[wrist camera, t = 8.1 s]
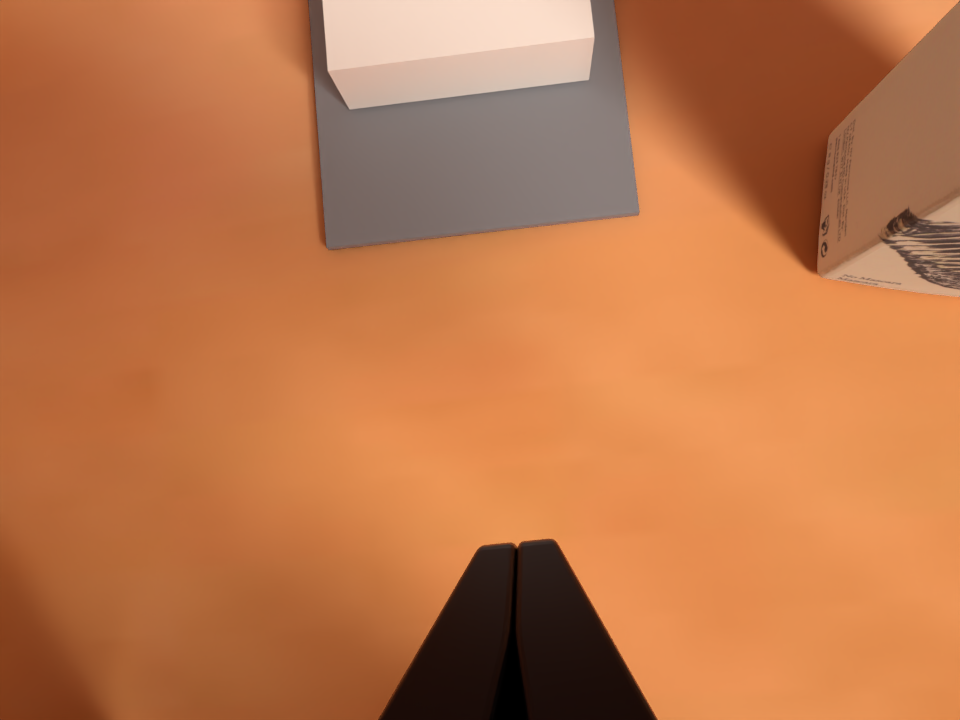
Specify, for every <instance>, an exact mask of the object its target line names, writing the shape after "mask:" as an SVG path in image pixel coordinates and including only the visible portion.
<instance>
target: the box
mask: <svg viewBox="0 0 960 720" xmlns="http://www.w3.org/2000/svg"><path fill="white" fill-rule="evenodd" d="M817 272H818V274H819V276H820V277H822V278H826V279H831V280H838V281H844V282H850V283H856V284H862V285H869V286H875V287H882V288H888V289H895V290H904V291H911V292H917V293H926V294H934V295H945V296H954V297H960V1H959V2H958V3H957V4H956V5H955V6H954V7H953V8H952V9H951V10H950V11H949V12H948V13H947V14H946V15H945V16H944V17H943V18H942V19H941V20H940V21H939V22H938V23H937V25H936V26H935V27H934V28H933V29H932V30H931V31H930V32H929V33H928V34H927V35H926V36H925V37H924V38H923V39H922V40H921V41H920V42H919V43H918V44H917V45H916V46H915V47H914V48H913V49H912V50H911V51H910V52H909V53H908V54H907V55H906V56H905V57H904V58H903V59H902V60H901V61H900V62H899V63H898V64H897V65H896V66H895V67H894V68H893V69H892V70H891V71H890V72H889V73H888V74H887V75H886V76H885V77H884V78H883V79H882V81H881V82H880V83H879V84H878V85H877V86H876V87H875V88H874V89H873V90H872V91H871V92H870V93H869V94H868V95H867V96H866V97H865V98H864V99H863V100H862V101H861V102H860V103H859V104H858V105H857V106H856V107H855V108H854V109H853V110H852V111H851V112H850V113H849V114H848V115H847V116H846V118H845V119H844V120H843V121H842V122H841V123H840V124H839V125H838V126H837V127H836V128H835V129H834V130H833V131H832V132H831V134H830V135H829V138H828V146H827V156H826V163H825V173H824V184H823V193H822V207H821V218H820V228H819V243H818V261H817Z"/></svg>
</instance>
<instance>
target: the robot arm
mask: <svg viewBox="0 0 960 720" xmlns="http://www.w3.org/2000/svg"><path fill="white" fill-rule="evenodd" d="M378 720H658V719H657V718H656V716H655V714H654V712H653V711H652V709H651V707H650V705H649V704H648V702H647V700H646V698H645V697H644V695H643V693H642V691H641V689H640V688H639V686H638V684H637V682H636V681H635V679H634V677H633V675H632V674H631V672H630V670H629V668H628V667H627V665H626V663H625V661H624V659H623V658H622V656H621V654H620V652H619V651H618V649H617V647H616V645H615V644H614V642H613V640H612V638H611V637H610V635H609V633H608V631H607V629H606V628H605V626H604V624H603V622H602V621H601V619H600V617H599V615H598V614H597V612H596V610H595V608H594V607H593V605H592V603H591V601H590V599H589V598H588V596H587V594H586V592H585V591H584V589H583V587H582V585H581V584H580V582H579V580H578V578H577V577H576V575H575V573H574V571H573V569H572V568H571V566H570V564H569V562H568V561H567V559H566V557H565V555H564V554H563V552H562V550H561V548H560V547H559V545H558V543H557V542H556V541H555V540H553V539H542V540H532V541H523V542H521V543H520V544H519V546H518V547H517V546H516V545H515V544H513V543H501V544H491V545H483V546H481V547H480V548H479V549H478V550H477V551H476V553H475V554H474V556H473V558H472V559H471V561H470V563H469V565H468V566H467V568H466V570H465V572H464V573H463V575H462V577H461V578H460V580H459V582H458V584H457V585H456V587H455V589H454V590H453V592H452V594H451V596H450V597H449V599H448V601H447V602H446V604H445V606H444V608H443V609H442V611H441V613H440V614H439V616H438V618H437V620H436V621H435V623H434V625H433V626H432V628H431V630H430V632H429V633H428V635H427V637H426V639H425V640H424V642H423V644H422V645H421V647H420V649H419V651H418V652H417V654H416V656H415V657H414V659H413V661H412V663H411V664H410V666H409V668H408V669H407V671H406V673H405V675H404V676H403V678H402V680H401V681H400V683H399V685H398V687H397V688H396V690H395V692H394V693H393V695H392V697H391V699H390V700H389V702H388V704H387V705H386V707H385V709H384V711H383V712H382V714H381V716H380V718H379V719H378Z"/></svg>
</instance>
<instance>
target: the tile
mask: <svg viewBox="0 0 960 720" xmlns="http://www.w3.org/2000/svg"><path fill="white" fill-rule="evenodd" d="M322 1H323V14H324V28H325V41H326V54H327V67H328V72H329V74H330V76H331V78H332V79H333V81H334V83H335V85H336V87H337V88H338V90H339V92H340V94H341V95H342V97H343V99H344V101H345V102H346V104H347V106H348V108H349V110H350V109H358V108H366V107H375V106H383V105H391V104H399V103H407V102H415V101H423V100H431V99H439V98H447V97H455V96H463V95H471V94H479V93H488V92H496V91H504V90H512V89H520V88H528V87H536V86H544V85H552V84H560V83H568V82H576V81H584V80H589V76H590V68H591V60H592V53H593V45H594V38H595V37H594V28H593V20H592V11H591V2H590V0H322Z"/></svg>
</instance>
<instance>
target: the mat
mask: <svg viewBox="0 0 960 720" xmlns="http://www.w3.org/2000/svg"><path fill="white" fill-rule="evenodd" d="M590 2H591V11H592V20H593V28H594V37H595V38H594V45H593V53H592V60H591V68H590V76H589V80H584V81H576V82H568V83H560V84H552V85H544V86H536V87H528V88H520V89H512V90H504V91H496V92H488V93H479V94H471V95H463V96H455V97H447V98H439V99H431V100H423V101H415V102H407V103H399V104H391V105H383V106H375V107H366V108H358V109H350V110H349V108H348V106H347V104H346V102H345V101H344V99H343V97H342V95H341V94H340V92H339V90H338V88H337V87H336V85H335V83H334V81H333V79H332V78H331V76H330V74H329V72H328V67H327V54H326V41H325V28H324V14H323V1H322V0H308V3H309V16H310V30H311V44H312V57H313V71H314V85H315V98H316V112H317V126H318V139H319V153H320V167H321V180H322V194H323V208H324V221H325V235H326V248H328V249H329V250H334V249H342V248H351V247H360V246H369V245H378V244H387V243H396V242H405V241H414V240H423V239H431V238H440V237H449V236H458V235H467V234H476V233H485V232H494V231H503V230H511V229H520V228H529V227H538V226H547V225H556V224H565V223H574V222H583V221H591V220H600V219H609V218H618V217H627V216H636V215H638V214H639V204H638V196H637V188H636V179H635V171H634V163H633V154H632V146H631V138H630V130H629V121H628V113H627V105H626V96H625V88H624V80H623V71H622V63H621V55H620V47H619V38H618V30H617V22H616V13H615V5H614V0H590Z"/></svg>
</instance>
